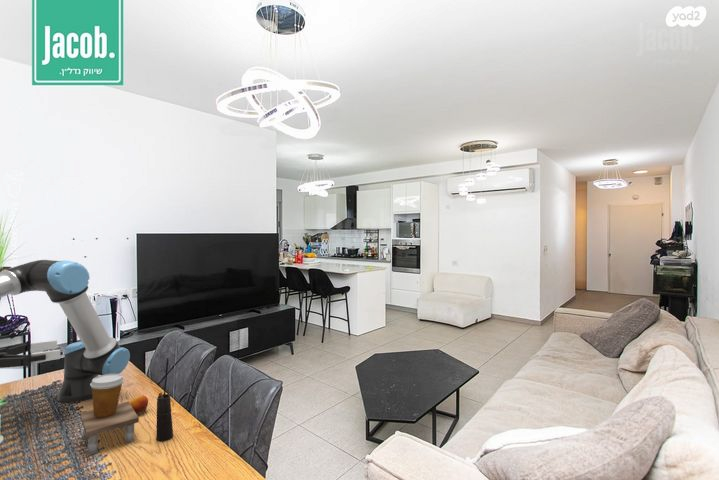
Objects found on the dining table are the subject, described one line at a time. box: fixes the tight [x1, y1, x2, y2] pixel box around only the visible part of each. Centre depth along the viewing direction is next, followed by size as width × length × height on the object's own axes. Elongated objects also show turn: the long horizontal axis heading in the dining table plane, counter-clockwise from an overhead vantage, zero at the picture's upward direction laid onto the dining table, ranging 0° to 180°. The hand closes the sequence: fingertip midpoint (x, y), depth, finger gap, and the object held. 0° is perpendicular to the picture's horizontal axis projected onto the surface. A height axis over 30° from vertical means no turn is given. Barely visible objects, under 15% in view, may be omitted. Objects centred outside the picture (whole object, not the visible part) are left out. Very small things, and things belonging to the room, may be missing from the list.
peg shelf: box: [79, 400, 140, 456], centre depth 119 cm, size 16×14×8 cm
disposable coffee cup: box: [90, 373, 125, 417], centre depth 120 cm, size 10×10×12 cm
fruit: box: [127, 394, 149, 417], centre depth 136 cm, size 8×8×8 cm
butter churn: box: [155, 358, 174, 443], centre depth 121 cm, size 9×10×28 cm
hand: (58, 348), depth 113 cm, fingers open, 13 cm apart
